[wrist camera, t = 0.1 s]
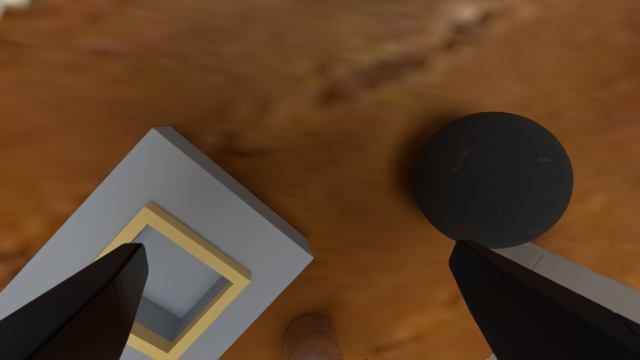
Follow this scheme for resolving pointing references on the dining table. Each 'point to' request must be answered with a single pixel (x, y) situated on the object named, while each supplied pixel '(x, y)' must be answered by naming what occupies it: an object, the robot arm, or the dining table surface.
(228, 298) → the grey flat square piece
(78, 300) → the robot arm
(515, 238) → the speaker
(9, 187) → the dining table surface
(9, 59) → the dining table surface
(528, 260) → the skincare box
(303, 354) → the spout can
